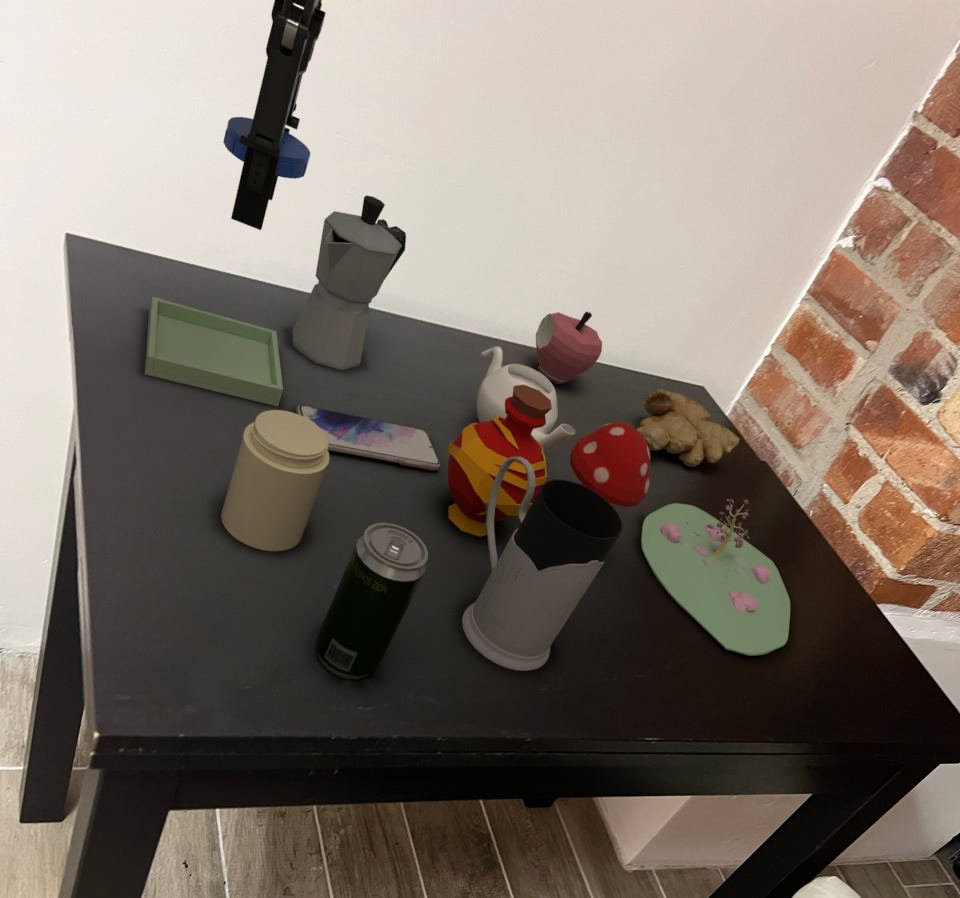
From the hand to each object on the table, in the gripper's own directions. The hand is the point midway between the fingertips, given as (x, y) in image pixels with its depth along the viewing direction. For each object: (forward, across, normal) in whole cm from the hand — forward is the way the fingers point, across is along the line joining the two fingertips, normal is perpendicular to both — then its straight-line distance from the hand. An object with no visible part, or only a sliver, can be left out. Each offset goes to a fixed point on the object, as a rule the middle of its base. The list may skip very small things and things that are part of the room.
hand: (252, 207), depth 85 cm
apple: (+17, -28, +42) cm, 53 cm away
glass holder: (+17, +28, +30) cm, 44 cm away
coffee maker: (+17, -13, +12) cm, 24 cm away
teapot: (+17, -3, +33) cm, 37 cm away
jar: (+17, +24, +8) cm, 31 cm away
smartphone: (+17, +6, +17) cm, 25 cm away
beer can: (+17, +38, +17) cm, 45 cm away
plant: (+17, +10, +60) cm, 64 cm away
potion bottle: (+17, +14, +29) cm, 36 cm away
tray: (+17, 0, 0) cm, 17 cm away
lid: (-6, 0, 0) cm, 6 cm away
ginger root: (+17, -20, +60) cm, 66 cm away
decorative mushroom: (+17, +13, +40) cm, 45 cm away
